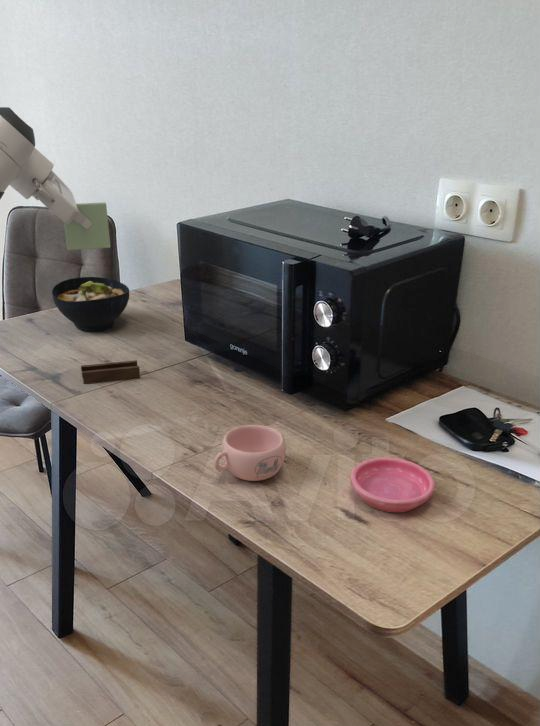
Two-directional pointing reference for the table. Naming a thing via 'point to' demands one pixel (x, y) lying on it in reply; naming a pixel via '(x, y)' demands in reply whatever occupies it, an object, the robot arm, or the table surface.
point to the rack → (110, 372)
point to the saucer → (392, 484)
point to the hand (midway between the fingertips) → (89, 224)
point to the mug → (252, 452)
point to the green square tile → (95, 233)
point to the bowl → (91, 301)
